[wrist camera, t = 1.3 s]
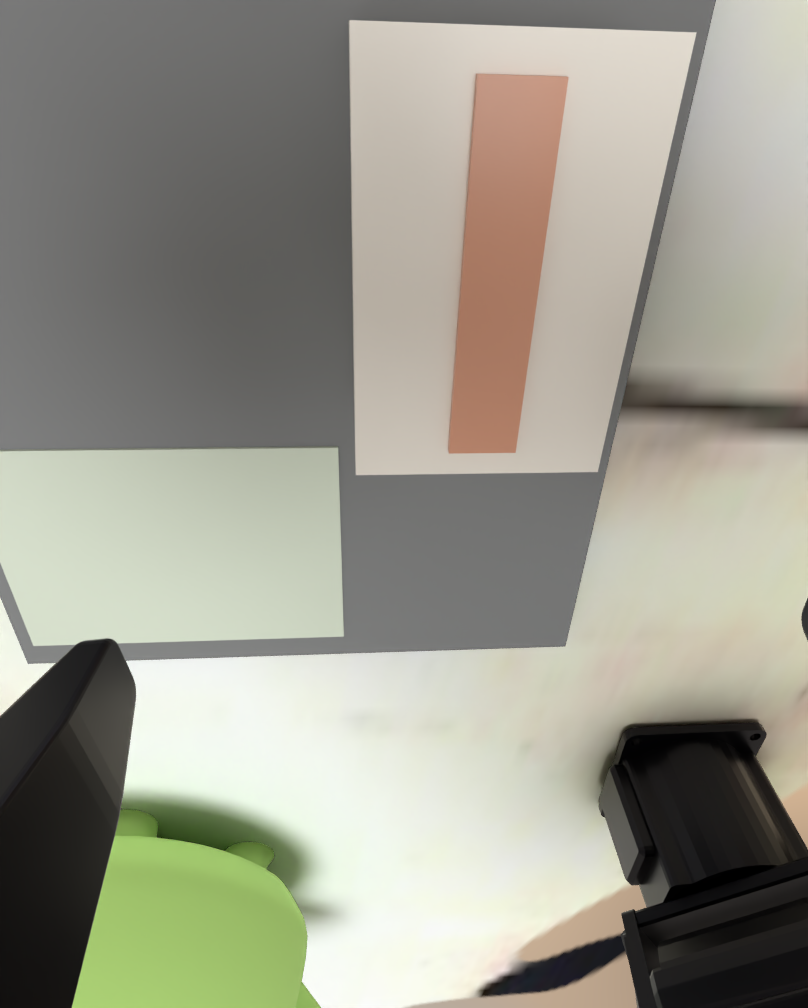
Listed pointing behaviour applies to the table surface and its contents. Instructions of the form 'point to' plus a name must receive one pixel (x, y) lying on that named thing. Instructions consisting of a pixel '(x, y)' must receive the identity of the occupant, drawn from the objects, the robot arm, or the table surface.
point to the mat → (238, 348)
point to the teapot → (192, 927)
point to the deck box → (500, 236)
